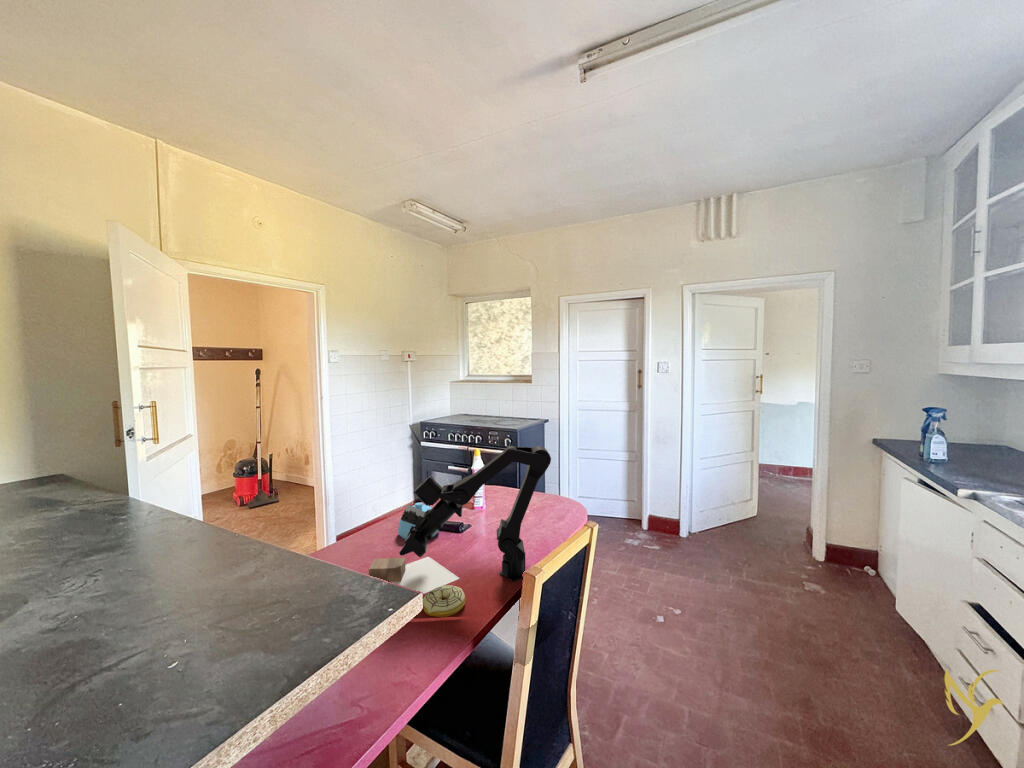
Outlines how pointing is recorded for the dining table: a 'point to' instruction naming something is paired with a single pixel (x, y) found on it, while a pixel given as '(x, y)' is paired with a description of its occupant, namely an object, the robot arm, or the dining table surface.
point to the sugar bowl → (405, 526)
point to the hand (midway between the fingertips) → (400, 554)
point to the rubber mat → (426, 575)
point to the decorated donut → (444, 601)
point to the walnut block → (388, 569)
